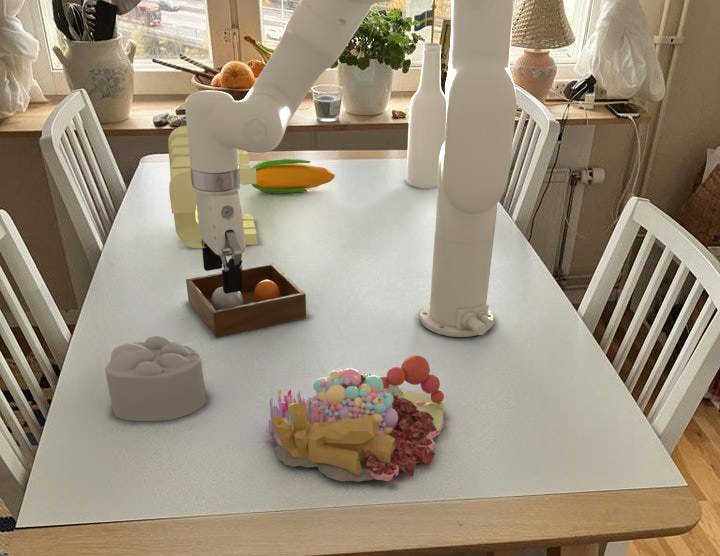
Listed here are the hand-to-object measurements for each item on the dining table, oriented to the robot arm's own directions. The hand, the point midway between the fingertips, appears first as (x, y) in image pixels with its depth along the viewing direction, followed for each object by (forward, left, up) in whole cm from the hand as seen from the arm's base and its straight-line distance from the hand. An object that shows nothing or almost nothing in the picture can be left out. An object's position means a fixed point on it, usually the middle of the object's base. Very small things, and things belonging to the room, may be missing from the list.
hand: (223, 280), depth 143 cm
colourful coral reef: (-43, -4, -7) cm, 43 cm away
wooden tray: (0, -4, -6) cm, 7 cm away
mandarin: (0, -8, -4) cm, 9 cm away
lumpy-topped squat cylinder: (-23, +18, -7) cm, 30 cm away
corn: (+53, -36, -7) cm, 64 cm away
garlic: (0, 0, -6) cm, 6 cm away
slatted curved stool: (+35, -11, -7) cm, 37 cm away
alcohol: (+45, -67, -7) cm, 81 cm away
